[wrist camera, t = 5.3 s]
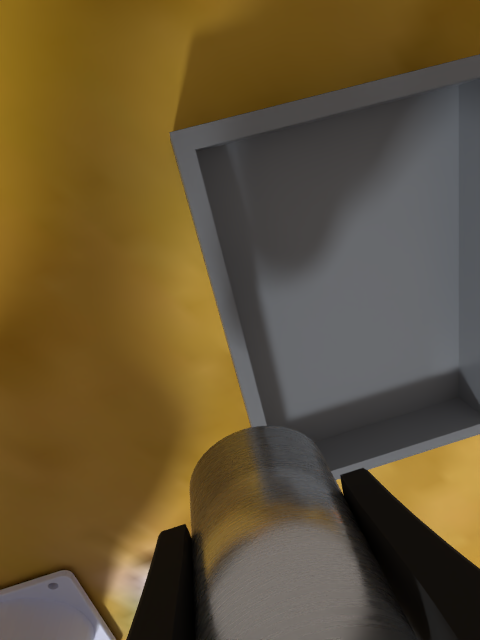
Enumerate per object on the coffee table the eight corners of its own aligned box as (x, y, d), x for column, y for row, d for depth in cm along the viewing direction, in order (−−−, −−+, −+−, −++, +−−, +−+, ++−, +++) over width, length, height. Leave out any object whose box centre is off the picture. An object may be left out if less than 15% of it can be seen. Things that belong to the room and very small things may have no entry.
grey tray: (258, 454, 19) (272, 500, 17) (170, 141, 14) (169, 132, 11) (455, 392, 20) (500, 427, 17) (454, 69, 14) (522, 43, 11)
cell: (210, 548, 11) (238, 847, 6) (171, 451, 10) (165, 746, 5) (333, 509, 12) (454, 768, 7) (313, 408, 10) (452, 645, 5)
